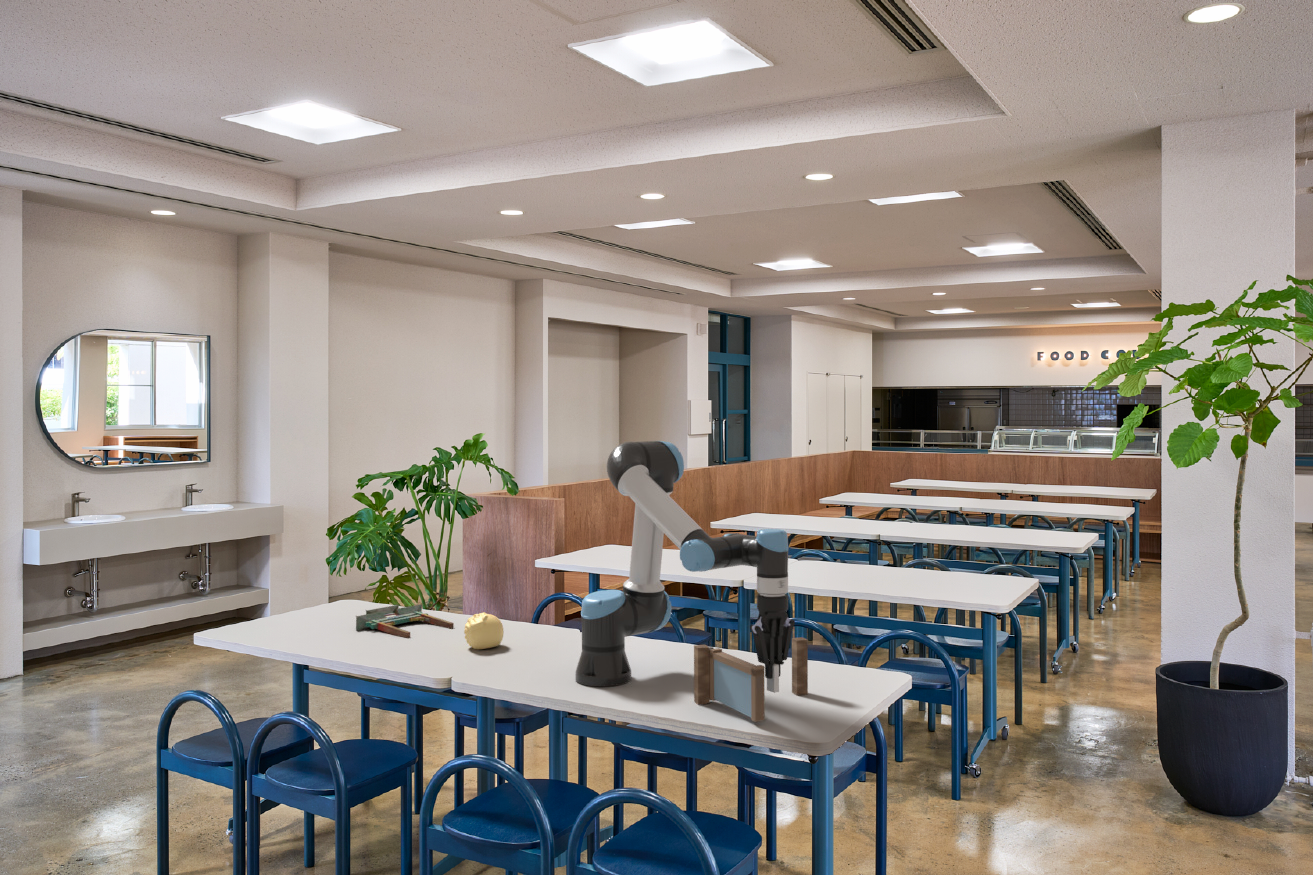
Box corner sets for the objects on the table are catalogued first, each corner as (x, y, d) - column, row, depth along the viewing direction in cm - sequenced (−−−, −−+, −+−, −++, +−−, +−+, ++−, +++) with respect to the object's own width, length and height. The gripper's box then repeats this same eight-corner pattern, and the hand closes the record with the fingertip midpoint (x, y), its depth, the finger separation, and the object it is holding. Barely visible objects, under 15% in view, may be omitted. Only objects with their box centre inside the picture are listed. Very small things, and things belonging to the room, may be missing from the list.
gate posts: (698, 704, 235) (697, 648, 235) (694, 701, 238) (693, 645, 238) (807, 694, 243) (807, 639, 243) (802, 691, 246) (802, 637, 246)
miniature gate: (396, 629, 306) (343, 611, 325) (396, 646, 306) (343, 627, 325) (463, 616, 327) (409, 599, 346) (462, 632, 327) (409, 614, 346)
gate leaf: (709, 699, 236) (709, 649, 235) (719, 697, 237) (718, 648, 237) (755, 721, 218) (754, 667, 218) (764, 719, 219) (764, 666, 219)
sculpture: (462, 644, 300) (462, 610, 300) (501, 641, 303) (501, 608, 303) (465, 653, 289) (465, 617, 289) (505, 650, 292) (505, 615, 292)
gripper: (762, 599, 223) (763, 699, 224) (803, 592, 231) (803, 689, 231) (741, 594, 229) (742, 691, 230) (781, 588, 237) (781, 683, 238)
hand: (772, 690), depth 231 cm, fingers closed
